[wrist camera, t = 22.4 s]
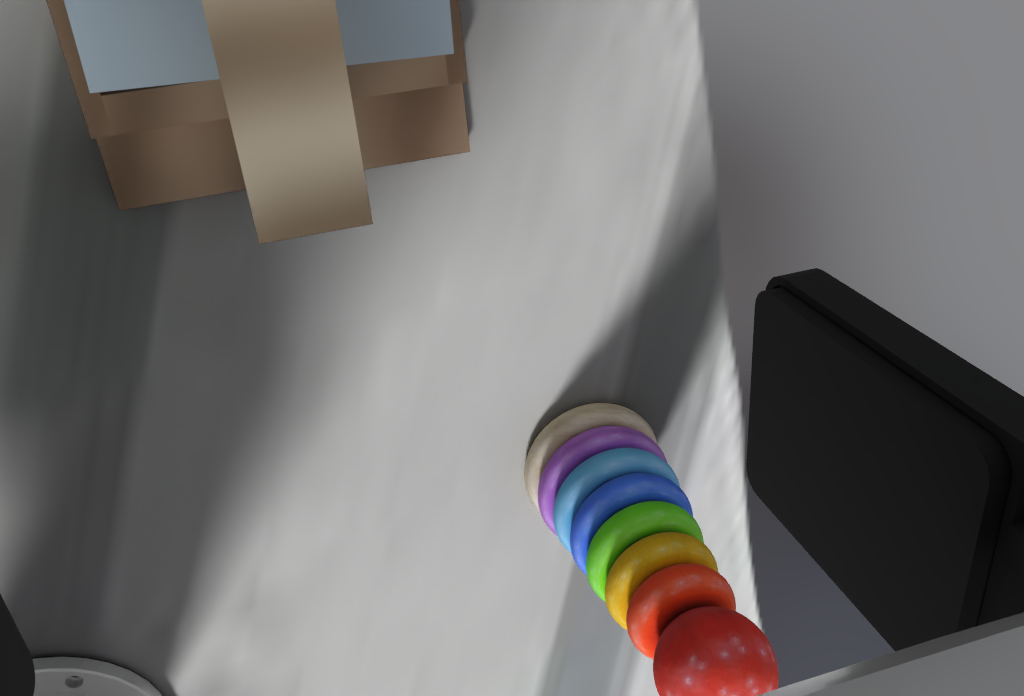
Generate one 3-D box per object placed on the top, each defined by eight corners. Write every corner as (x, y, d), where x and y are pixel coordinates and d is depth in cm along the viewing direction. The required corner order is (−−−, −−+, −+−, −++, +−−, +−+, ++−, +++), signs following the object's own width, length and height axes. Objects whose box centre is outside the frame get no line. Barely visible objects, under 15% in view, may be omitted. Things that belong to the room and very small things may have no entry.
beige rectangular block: (160, -204, 25) (147, -224, 21) (284, -213, 26) (295, -233, 22) (254, 195, 31) (259, 244, 27) (353, 179, 32) (372, 223, 27)
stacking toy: (646, 381, 49) (850, 616, 33) (651, 492, 53) (836, 751, 37) (512, 416, 47) (658, 680, 31) (527, 528, 51) (664, 814, 35)
